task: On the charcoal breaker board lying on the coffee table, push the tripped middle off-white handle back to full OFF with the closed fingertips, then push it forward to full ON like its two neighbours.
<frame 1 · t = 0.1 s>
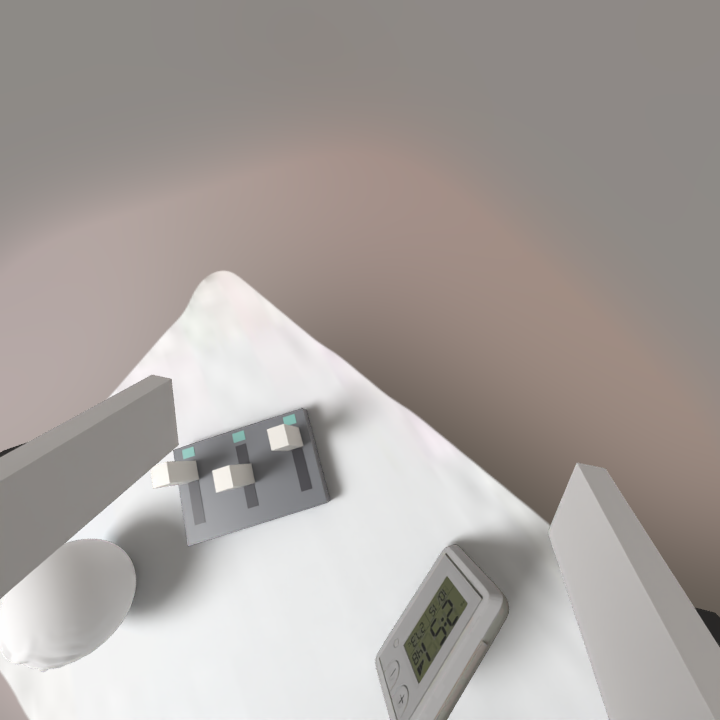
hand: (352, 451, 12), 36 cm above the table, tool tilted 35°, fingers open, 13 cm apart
tripped breaker: (234, 477, 43), point 5 cm above the table, slide at 0.0 cm
digital clock: (431, 612, 42), on the table
breaker 3: (176, 473, 43), point 5 cm above the table, slide at 2.5 cm
breaker board: (253, 474, 48), on the table
breaker 1: (286, 438, 43), point 5 cm above the table, slide at 2.5 cm
decorative ball: (115, 579, 47), on the table
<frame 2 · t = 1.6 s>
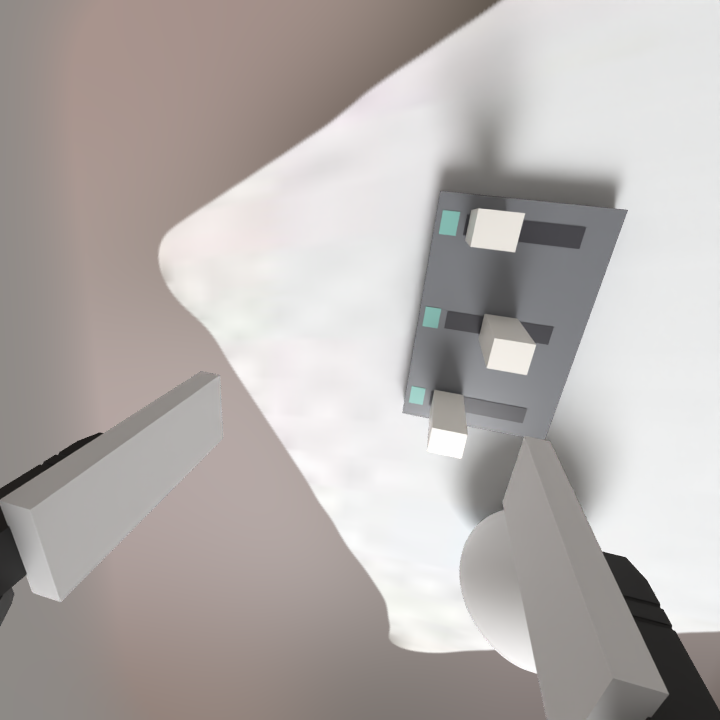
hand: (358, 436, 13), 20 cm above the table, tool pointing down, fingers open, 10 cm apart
tripped breaker: (503, 341, 25), point 5 cm above the table, slide at 0.0 cm
breaker 3: (446, 421, 28), point 5 cm above the table, slide at 2.5 cm
breaker board: (493, 320, 30), on the table
breaker 1: (490, 228, 22), point 5 cm above the table, slide at 2.5 cm
decorative ball: (518, 527, 37), on the table
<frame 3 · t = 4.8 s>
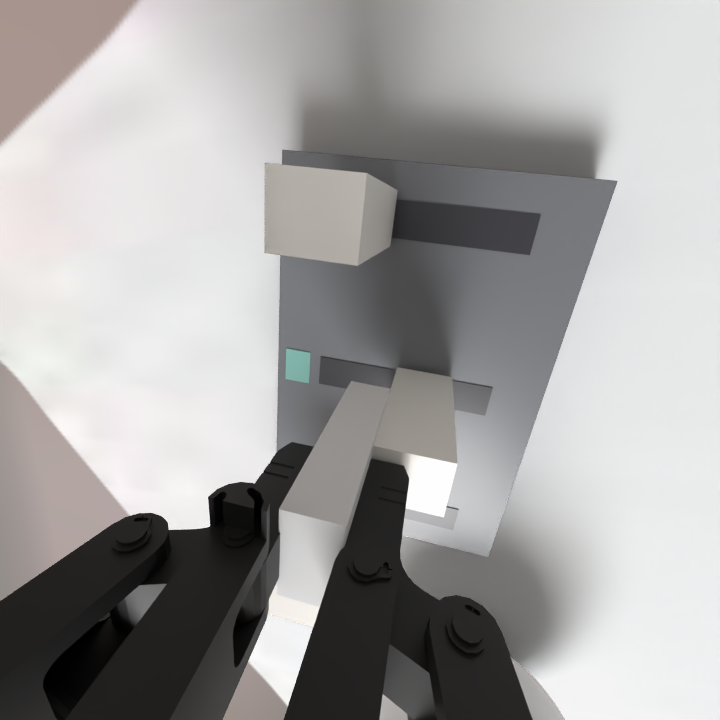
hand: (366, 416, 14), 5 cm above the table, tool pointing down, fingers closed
tripped breaker: (416, 428, 13), point 5 cm above the table, slide at -0.9 cm, touching gripper
breaker 3: (317, 541, 17), point 5 cm above the table, slide at 2.5 cm
breaker board: (405, 368, 18), on the table
breaker 1: (343, 215, 11), point 5 cm above the table, slide at 2.5 cm
decorative ball: (464, 651, 26), on the table
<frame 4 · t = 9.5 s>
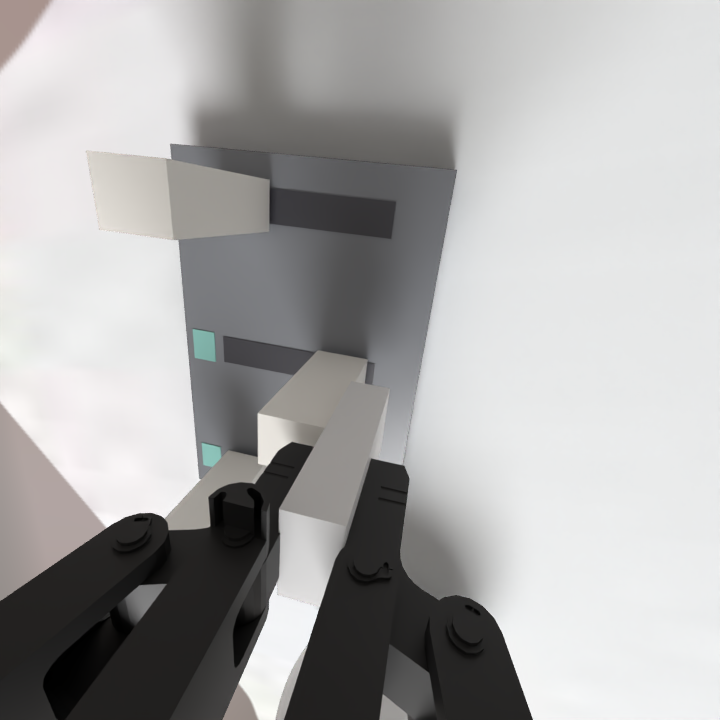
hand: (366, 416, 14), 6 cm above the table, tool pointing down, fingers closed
tripped breaker: (320, 403, 15), point 5 cm above the table, slide at -2.4 cm, touching gripper
breaker 3: (218, 507, 18), point 5 cm above the table, slide at 2.5 cm
breaker board: (309, 349, 20), on the table
breaker 1: (198, 200, 13), point 5 cm above the table, slide at 2.5 cm
decorative ball: (392, 624, 27), on the table
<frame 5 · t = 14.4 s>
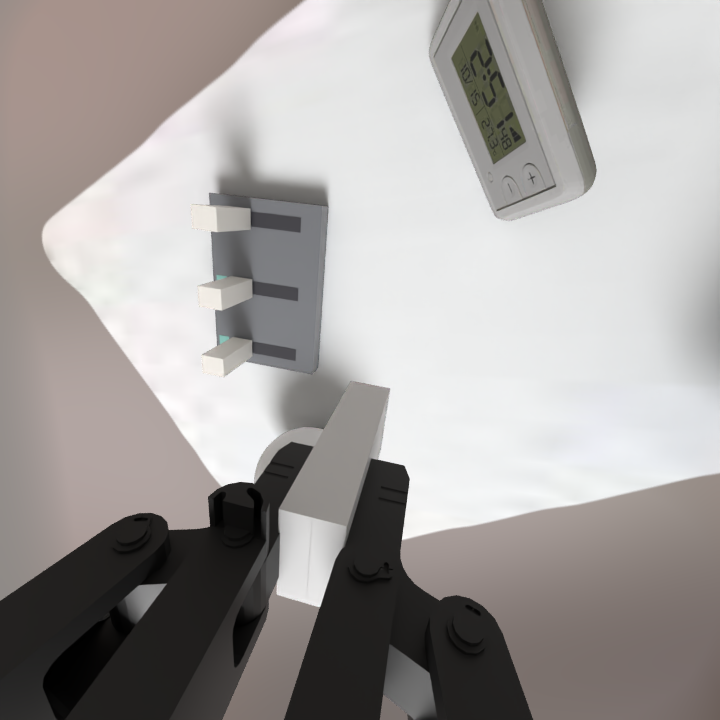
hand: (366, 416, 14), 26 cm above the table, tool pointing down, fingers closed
tripped breaker: (227, 292, 37), point 5 cm above the table, slide at 2.4 cm
digital clock: (493, 124, 32), on the table
breaker 3: (228, 355, 39), point 5 cm above the table, slide at 2.5 cm
breaker board: (272, 286, 41), on the table
breaker 1: (223, 218, 34), point 5 cm above the table, slide at 2.5 cm
decorative ball: (323, 448, 48), on the table
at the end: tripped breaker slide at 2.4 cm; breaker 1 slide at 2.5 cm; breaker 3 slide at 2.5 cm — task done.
